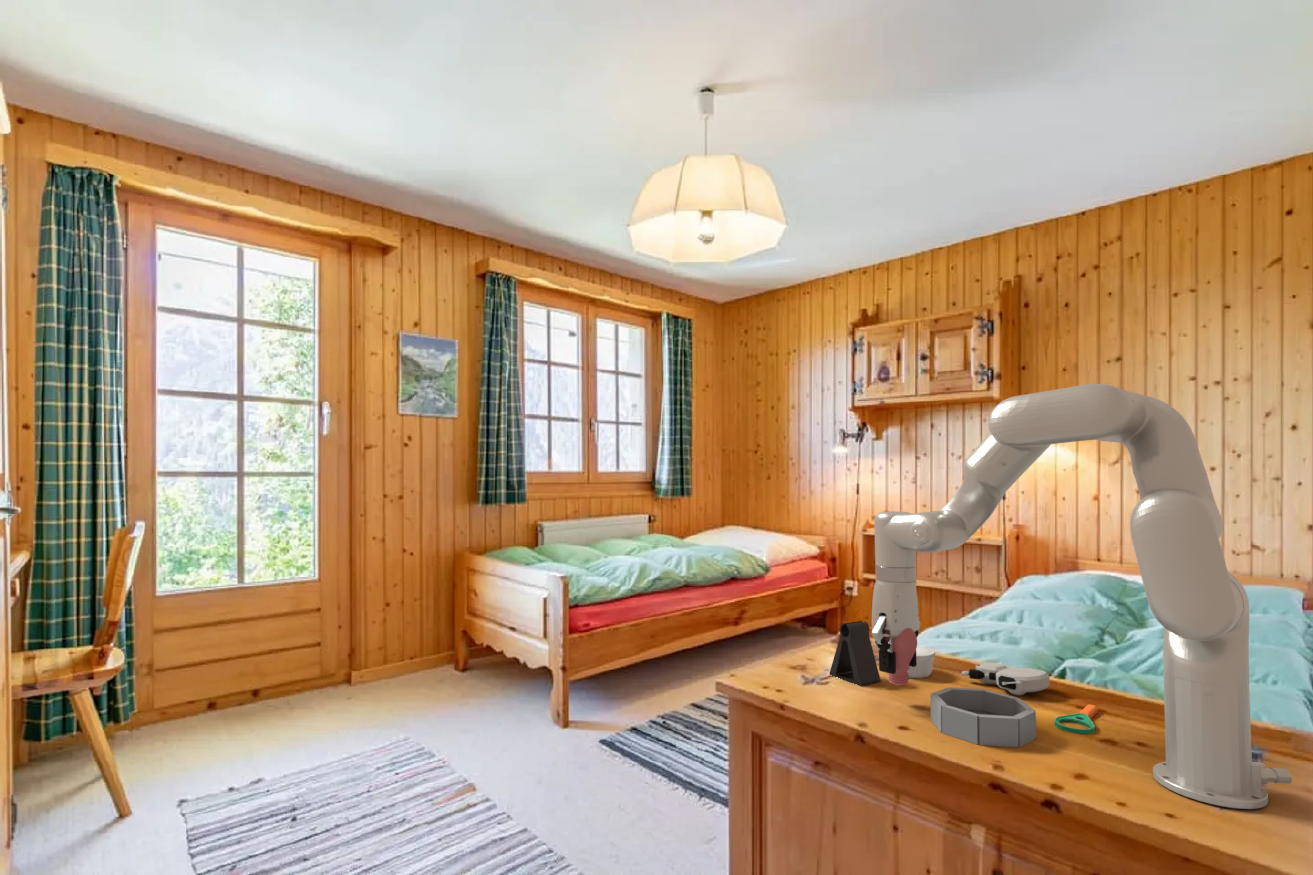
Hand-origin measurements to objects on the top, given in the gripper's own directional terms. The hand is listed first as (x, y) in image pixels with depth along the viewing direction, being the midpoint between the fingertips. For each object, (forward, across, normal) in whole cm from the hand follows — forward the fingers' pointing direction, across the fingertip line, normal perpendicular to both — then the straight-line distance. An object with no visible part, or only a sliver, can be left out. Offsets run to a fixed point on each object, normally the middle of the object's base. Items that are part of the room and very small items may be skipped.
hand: (898, 667), depth 128 cm
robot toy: (+7, -28, +9) cm, 30 cm away
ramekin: (+7, -22, -10) cm, 25 cm away
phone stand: (+7, -8, -15) cm, 18 cm away
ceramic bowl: (+7, 0, +16) cm, 17 cm away
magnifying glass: (+8, -18, +25) cm, 32 cm away
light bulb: (+4, 0, 0) cm, 4 cm away
